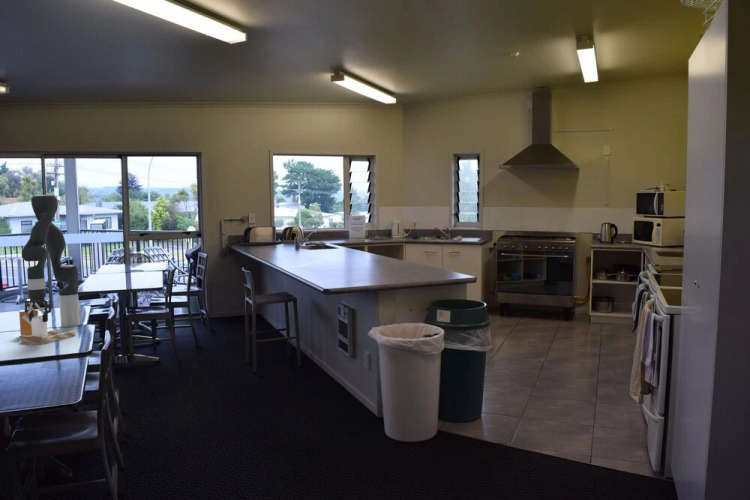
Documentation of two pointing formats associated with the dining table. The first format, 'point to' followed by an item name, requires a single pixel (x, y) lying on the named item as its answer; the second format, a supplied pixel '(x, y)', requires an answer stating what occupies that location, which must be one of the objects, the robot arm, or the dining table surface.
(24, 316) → the small box
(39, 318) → the white carton
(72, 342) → the dining table surface
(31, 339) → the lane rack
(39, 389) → the dining table surface
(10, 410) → the dining table surface
